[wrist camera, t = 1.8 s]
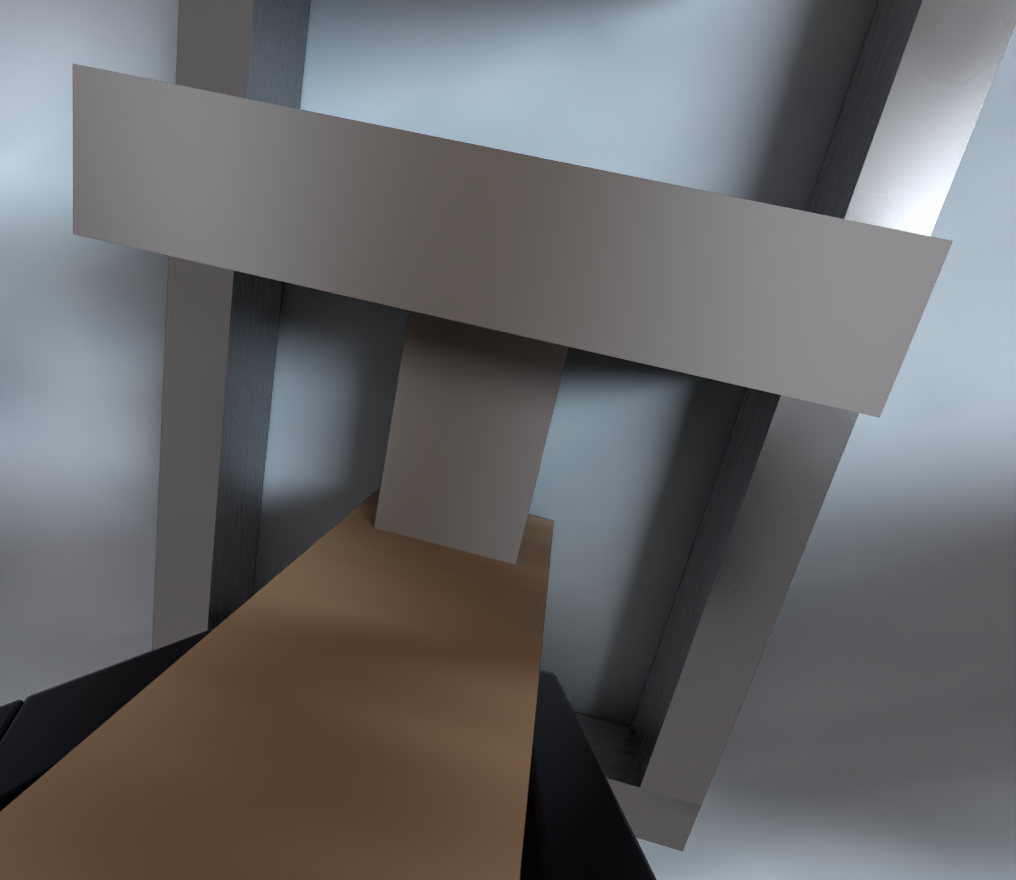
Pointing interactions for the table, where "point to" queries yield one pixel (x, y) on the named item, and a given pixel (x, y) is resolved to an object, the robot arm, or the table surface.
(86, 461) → the table surface
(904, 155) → the frame
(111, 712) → the robot arm
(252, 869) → the press carriage
